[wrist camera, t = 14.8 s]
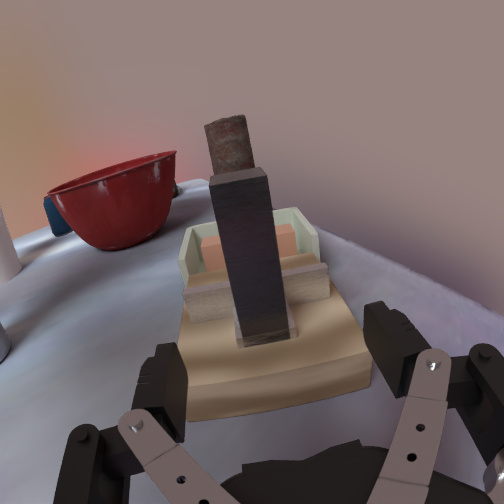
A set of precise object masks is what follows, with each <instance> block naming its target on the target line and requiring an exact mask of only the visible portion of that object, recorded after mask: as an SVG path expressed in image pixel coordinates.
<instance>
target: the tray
mask: <svg viewBox="0 0 504 504" xmlns="http://www.w3.org/2000/svg"><path fill="white" fill-rule="evenodd" d="M273 217H274V224H275V226H278V225H283V224H289V223H290V224H291V225H292V227H293V229H294V231H295V235H296V244H297V252H298V255H299V254H304V253H309V252H313V253H314V254H315V256H316V257H317V259H318V261H319V262H320V250H319V239H318V233H317V232H316V231H315V230H314V228H313V227H312V226H311V224H310V223H309V222H308V221H307V220H306V218H305V217H304V216H303V215H302V213H301V212H300V211H299V210H298V208H297V207H291V208H285V209H279V210H273ZM217 235H219V232H218V227H217V223H216V221H215V222H209V223H204V224H199V225H194V226H189V227H187V229H186V232H185V236H184V239H183V243H182V246H181V250H180V253H179V257H178V260H177V261H178V264H179V268H180V271H181V275H182V278H183V281H184V285H185V288H187V284H188V278H189V275H193V274H198V273H203V272H207V271H206V267H205V263H204V259H203V255H202V251H201V243H202V238H206V237H211V236H217ZM320 263H321V262H320Z"/></svg>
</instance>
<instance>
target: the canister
mask: <svg viewBox="0 0 504 504" xmlns="http://www.w3.org/2000/svg"><path fill="white" fill-rule="evenodd" d="M21 269H22V266H21V263H20V261H19V258H18V256H17V253H16V250H15V248H14V245H13V242H12V239H11V237H10V234H9V231H8V228H7V225H6V222H5V219H4V216H3V213H2V209H1V206H0V286H1V285H3V284H4V283H6V282H8V281H9V280H11V279H12V278H13V277H15V276H16V275H17V274H18V273H19V272H20V271H21Z"/></svg>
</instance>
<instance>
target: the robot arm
mask: <svg viewBox="0 0 504 504" xmlns="http://www.w3.org/2000/svg"><path fill="white" fill-rule="evenodd" d="M363 336H364V341H365V344H366V347H367V348H368V350H369V352H370V354H371V355H372V357H373V359H374V360H375V362H376V364H377V366H378V367H379V369H380V371H381V373H382V375H383V376H384V378H385V380H386V382H387V383H388V385H389V387H390V389H391V391H392V392H393V394H394V396H395V398H396V399H398V398H400V397H403V396H405V397H406V400H405V404H404V407H403V410H402V414H401V417H400V420H399V423H398V426H397V429H396V432H395V435H394V438H393V441H392V444H391V446H390V449H386V448H381V447H375V446H362V445H361V443H360V440H359V439H358V440H355V441H351V442H348V443H344V444H341V445H337V446H333V447H330V448H328V449H326V450H324V451H322V452H320V453H318V454H316V455H314V456H312V457H310V458H307V459H305V460H300V461H288V460H269V461H263V462H256V463H249V464H242V473H239V474H237V475H234V476H232V477H231V478H229V479H227V480H226V481H224V482H223V483H222V484H220V485H219V484H218V483H217V482H216V481H215V480H214V479H213V478H212V477H211V476H210V475H209V474H208V473H207V472H206V471H205V470H204V469H203V468H202V467H201V466H200V465H199V464H198V463H197V462H196V461H195V460H194V459H193V458H192V457H191V456H190V455H189V454H188V453H187V452H186V451H185V450H184V449H183V448H182V447H181V446H180V445H179V444H176V443H183V442H184V437H185V421H186V406H187V393H188V374H187V370H186V367H185V364H184V362H183V359H182V357H181V354H180V352H179V349H178V347H177V345H176V343H175V342H172V343H165V344H158V345H157V347H156V352H155V356H154V357H149V358H147V360H146V361H145V362H144V364H143V365H142V366H141V370H140V374H139V378H138V382H137V383H138V385H137V386H136V391H135V395H134V399H133V403H132V408H131V411H129V412H127V413H125V414H124V415H123V416H122V417H121V418H120V420H119V422H118V425H117V426H114V427H111V428H107V429H104V430H100V431H99V430H98V429H97V428H96V427H95V426H94V425H91V424H82V425H80V426H78V427H76V428H75V429H73V430H72V432H71V433H70V435H69V437H68V441H67V445H66V449H65V453H64V456H63V460H62V465H61V469H60V473H59V477H58V482H57V487H56V491H55V496H54V501H53V504H129V489H130V476H131V475H135V474H138V473H141V472H145V471H146V473H147V474H148V475H149V477H150V478H151V479H152V481H153V482H154V483H155V484H156V486H157V487H158V488H159V489H160V491H161V492H162V493H163V494H164V496H165V497H166V498H167V499H168V501H169V502H170V503H171V504H504V357H503V356H502V355H501V353H500V352H499V351H498V350H497V349H496V348H495V347H494V346H492V345H490V344H485V343H481V344H476V345H474V346H473V347H472V348H471V349H470V352H469V355H467V356H458V357H450V356H449V355H448V354H447V353H446V352H444V351H442V350H440V349H432V348H431V346H430V345H429V344H428V343H427V341H426V340H425V339H424V338H423V336H422V335H421V334H420V333H419V331H418V330H417V329H415V326H414V325H413V324H412V323H410V320H409V319H408V318H407V317H406V315H405V314H403V313H401V312H400V311H398V310H396V309H393V310H389V308H388V307H387V306H386V305H385V303H384V302H383V301H378V302H374V303H370V304H366V305H365V306H364V327H363ZM10 347H11V340H10V339H9V337H8V335H7V333H6V331H5V330H4V328H3V326H2V324H1V322H0V362H1V361H2V360H3V359H4V357H5V356H6V355H7V353H8V352H9V349H10ZM450 408H456V410H457V412H458V413H459V415H460V417H461V419H462V420H463V422H464V424H465V426H466V428H467V429H468V431H469V433H470V435H471V437H472V439H473V440H474V442H475V444H476V446H477V448H478V450H479V452H480V454H481V456H482V458H483V460H484V462H485V464H486V465H487V468H486V469H485V472H484V475H483V482H484V485H485V486H484V487H485V492H483V491H482V490H480V489H477V488H475V487H472V486H470V485H467V484H465V483H462V482H460V481H457V480H455V479H453V478H450V477H448V476H446V475H443V474H441V473H439V472H436V471H434V470H433V468H434V465H435V461H436V457H437V453H438V449H439V445H440V440H441V436H442V431H443V427H444V422H445V416H446V411H447V409H450Z"/></svg>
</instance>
